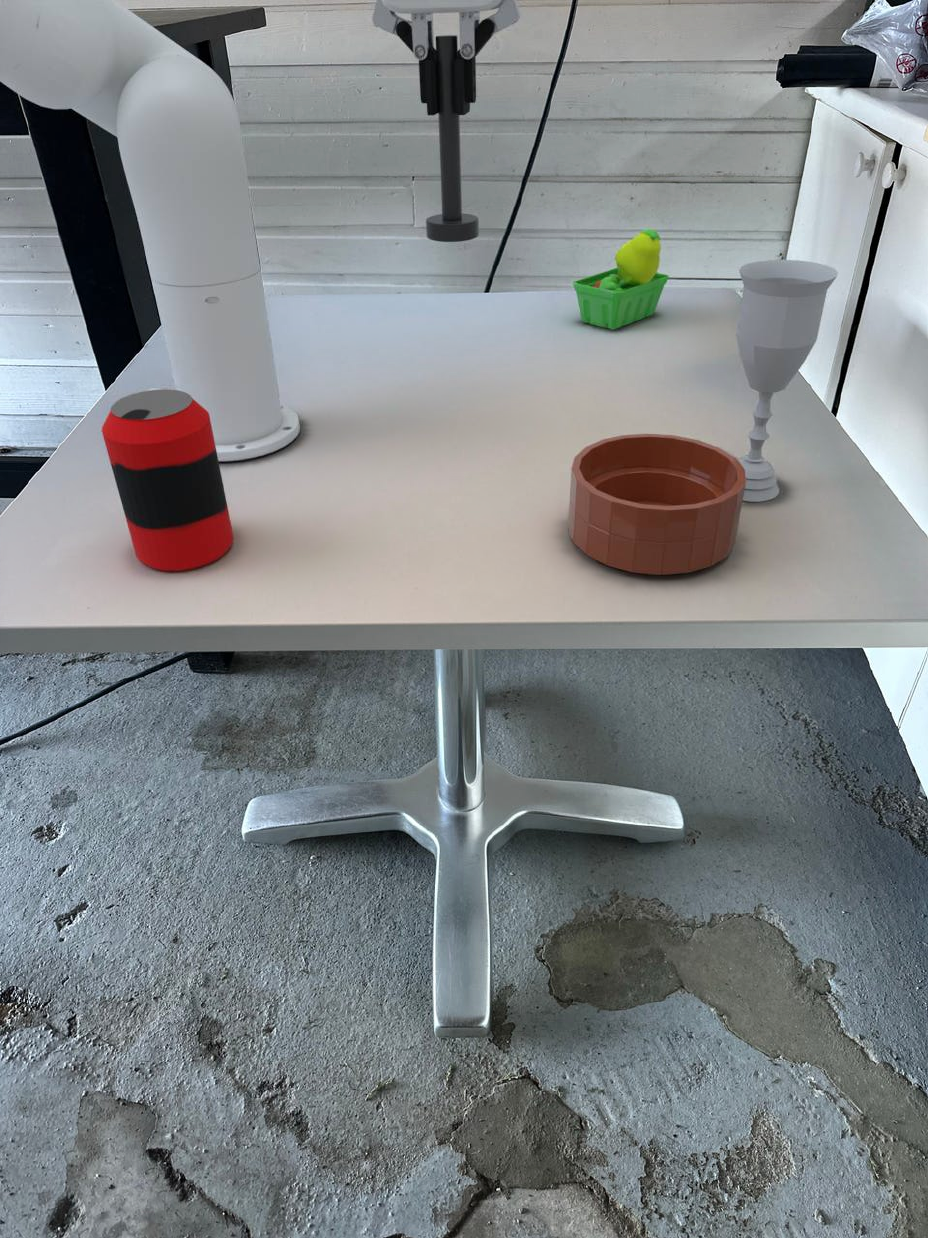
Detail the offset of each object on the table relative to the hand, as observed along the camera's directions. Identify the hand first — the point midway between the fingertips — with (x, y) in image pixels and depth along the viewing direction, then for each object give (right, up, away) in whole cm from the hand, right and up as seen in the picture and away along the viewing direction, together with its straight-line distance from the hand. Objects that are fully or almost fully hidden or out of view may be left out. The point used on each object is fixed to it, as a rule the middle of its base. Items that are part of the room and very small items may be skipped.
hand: (448, 111), depth 76 cm
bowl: (+16, -37, -6) cm, 41 cm away
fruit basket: (+22, -5, +40) cm, 46 cm away
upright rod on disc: (0, -8, +6) cm, 10 cm away
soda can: (-21, -38, -5) cm, 44 cm away
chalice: (+26, -32, +1) cm, 41 cm away
